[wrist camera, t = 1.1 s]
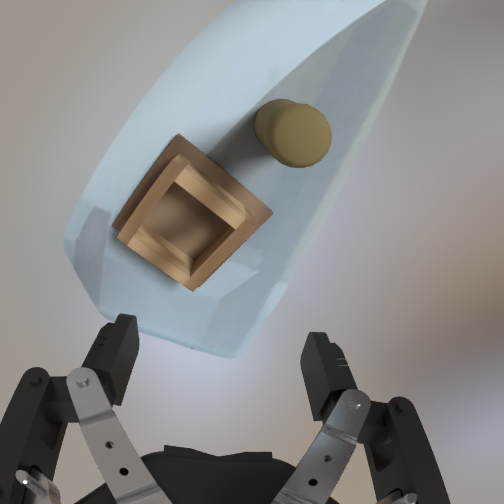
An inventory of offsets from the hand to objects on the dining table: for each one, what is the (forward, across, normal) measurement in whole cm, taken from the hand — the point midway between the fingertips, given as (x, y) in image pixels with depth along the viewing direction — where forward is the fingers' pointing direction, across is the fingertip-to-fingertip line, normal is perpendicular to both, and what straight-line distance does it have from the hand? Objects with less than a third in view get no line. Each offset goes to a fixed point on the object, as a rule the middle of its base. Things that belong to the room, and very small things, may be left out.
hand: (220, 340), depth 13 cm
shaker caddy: (+23, +5, +2) cm, 23 cm away
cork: (+22, -4, -10) cm, 24 cm away
